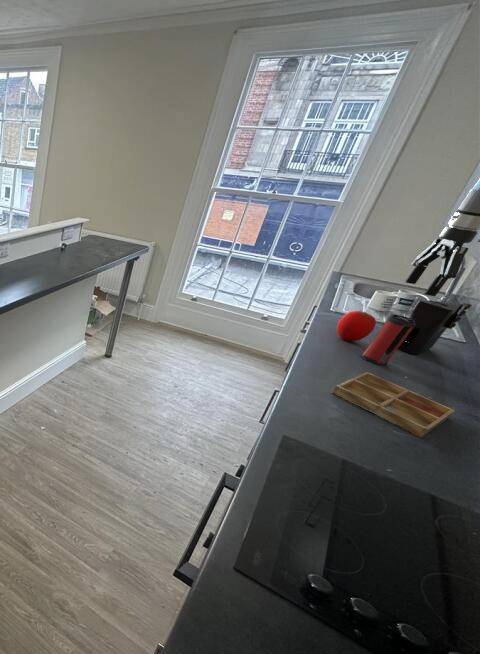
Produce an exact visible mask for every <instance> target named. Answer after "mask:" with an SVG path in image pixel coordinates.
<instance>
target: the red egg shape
mask: <svg viewBox="0 0 480 654" xmlns="http://www.w3.org/2000/svg"><path fill="white" fill-rule="evenodd" d="M376 323H377V321H376V318H375V316H373V315H372V314H370V313H367V312H366V311H362V310H352V311H351V310H350V311H349V312H347V313H345V314H344V315H342V317H341V318H340V319H339V321H338V323H337V325H336V333H337V335H338V336H339V338H341V339H342V340H344V341H348V342H357V341H360V340H362V339H365V338H366V337H368V336H369V335H370V334H371V333H372V332H373V331H374V329H375V328H376Z"/></svg>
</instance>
